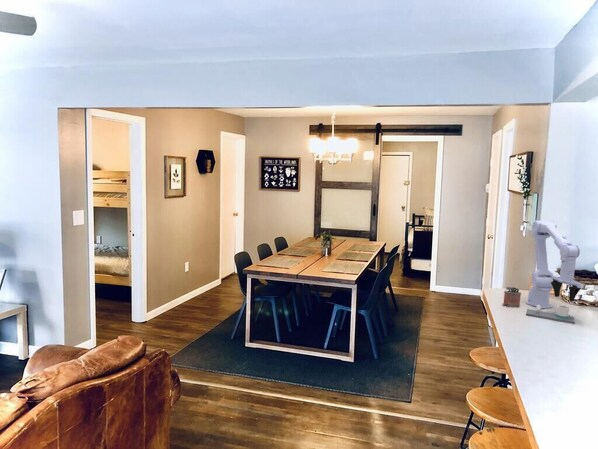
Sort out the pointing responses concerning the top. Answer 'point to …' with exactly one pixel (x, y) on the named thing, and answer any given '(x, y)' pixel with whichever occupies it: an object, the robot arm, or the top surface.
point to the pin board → (547, 315)
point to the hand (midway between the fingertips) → (564, 298)
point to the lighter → (512, 297)
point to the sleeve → (562, 312)
